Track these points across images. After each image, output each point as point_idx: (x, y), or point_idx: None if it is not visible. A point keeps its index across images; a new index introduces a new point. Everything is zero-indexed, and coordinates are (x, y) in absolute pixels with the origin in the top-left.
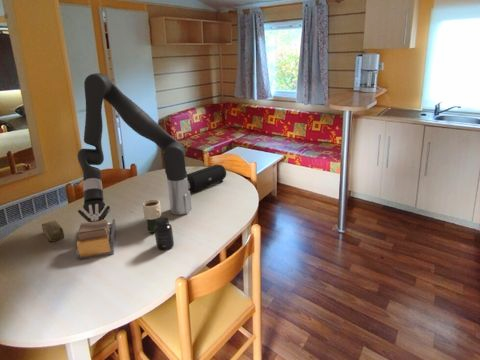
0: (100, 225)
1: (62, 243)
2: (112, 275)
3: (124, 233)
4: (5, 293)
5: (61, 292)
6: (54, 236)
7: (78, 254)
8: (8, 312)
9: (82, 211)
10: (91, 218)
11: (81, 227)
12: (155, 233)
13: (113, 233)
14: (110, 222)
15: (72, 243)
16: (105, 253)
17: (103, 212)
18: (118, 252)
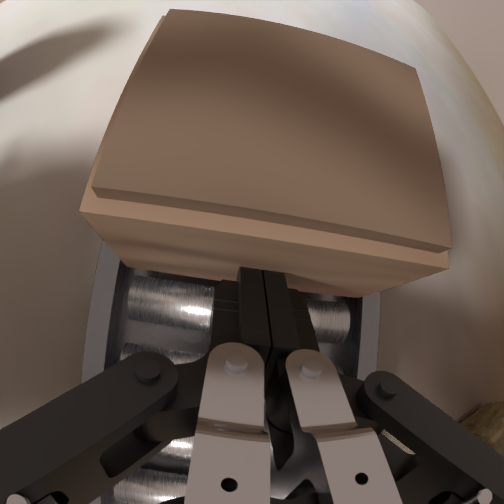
0: (200, 64)
1: (446, 376)
2: (200, 4)
3: (39, 337)
4: (495, 112)
5: (360, 21)
6: (492, 412)
7: None
8: (451, 46)
9: (489, 494)
10: (331, 386)
11: (424, 138)
12: None
13: (98, 272)
14: (114, 493)
15: (402, 357)
16: None
17: (81, 437)
18: None
